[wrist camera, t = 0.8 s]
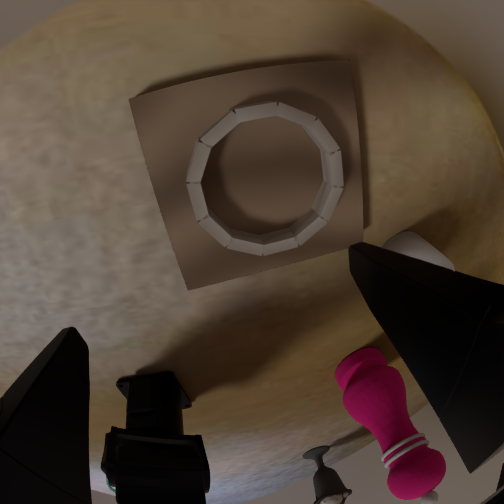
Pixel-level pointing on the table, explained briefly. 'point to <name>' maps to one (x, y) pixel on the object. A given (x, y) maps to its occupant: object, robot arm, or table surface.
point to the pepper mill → (390, 424)
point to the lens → (417, 249)
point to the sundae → (326, 480)
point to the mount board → (254, 167)
